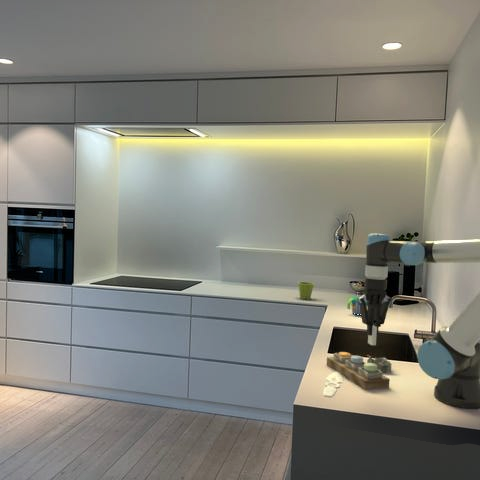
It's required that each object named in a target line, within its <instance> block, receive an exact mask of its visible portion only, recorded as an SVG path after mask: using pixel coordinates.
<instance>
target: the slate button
mask: <svg viewBox="0 0 480 480" xmlns="http://www.w3.org/2000/svg"><path fill="white" fill-rule="evenodd" d="M363 362H364V357H363V356H361V355H353V356H351V363H352V364H354V365H360V364H363Z"/></svg>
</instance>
